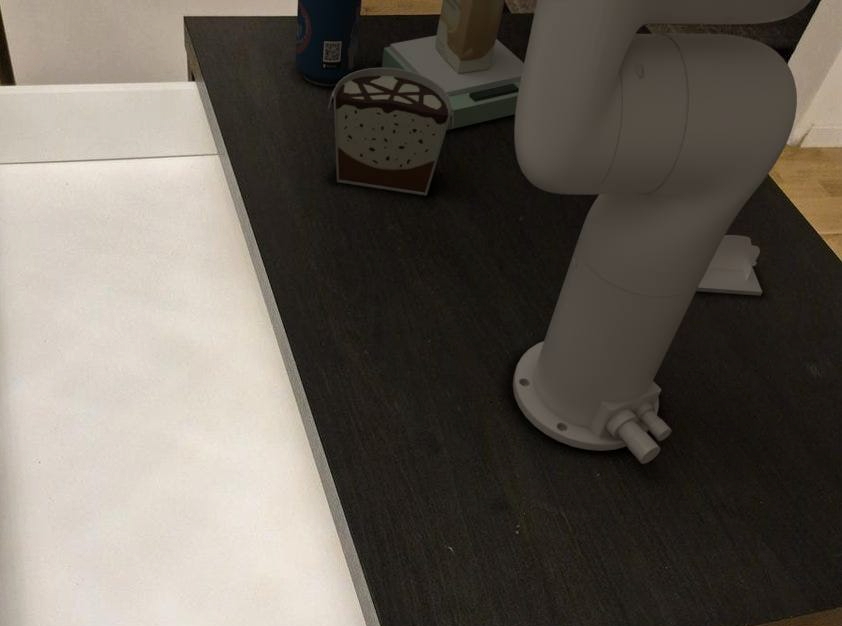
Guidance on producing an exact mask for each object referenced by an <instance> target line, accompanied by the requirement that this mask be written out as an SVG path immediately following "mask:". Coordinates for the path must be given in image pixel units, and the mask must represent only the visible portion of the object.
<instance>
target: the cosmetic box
mask: <svg viewBox="0 0 842 626" xmlns="http://www.w3.org/2000/svg"><path fill="white" fill-rule="evenodd" d="M505 1H506V0H442V3H441V9H440V13H439V20H438V25H437V31H436V35H437V36H436V35H435V36H436V42H435V47H436V48H437V49H438V51H439V52H440V53H441V54H442V56H443V57H444V58H445V59H446V60H447V62H448V63H449V64H450V65H451V66H452V67H453V68H454V70H455V71H456V72H457V73H466V72H473V71H480V70H487V69H489V68H490V63H491V59H492V55H493V50H494V46H495V41H496V39H497V36H498V32H499V28H500V24H501V19H502V15H503V10H504V6H505Z"/></svg>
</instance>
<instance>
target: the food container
mask: <svg viewBox="0 0 842 626" xmlns="http://www.w3.org/2000/svg"><path fill="white" fill-rule="evenodd" d="M332 103H333V117H334V119H333V120H334V141H335V142H334V143H335V146H334V147H335V169H336V170H335V171H336V173H335V174H336V183H341V184H349V185H354V186H361V187H367V188H373V189H380V190H386V191H393V192H399V193H405V194H413V195H420V196H428V192H429V189H430V186H431V182H432V179H433V176H434V173H435V170H436V166H437V162H438V159H439V156H440V152H441V149H442V146H443V143H444V141H445V140H444V139H445V136H446V132H447V131H448V130H447V126H448V123H449V120H450V119H451V122H452V129H451V130H454V129H455V128H454V115H453V108H452V103H451V100H450V98H449V96H448V94H447V93H446V92H445V91H444V89H443V88H442V87H440V86H439V85H438V84H437V83H435V82H434V81H432V80H430V79H428V78H426V77H424V76H422V75H419V74H417V73H414V72H410V71H407V70H402V69H395V68H382V67H369V68H364V69H360V70H356V71H354V72H353V73H351V74H349V75H347V76H345V77H344V78H343V79H341V80H340V81H339V82H338V84H337V85H336V86H334V89H333V91H332V92H331V95H330V98H329V101H328V105H327V109H326V110H330V109H331V106H332Z"/></svg>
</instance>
